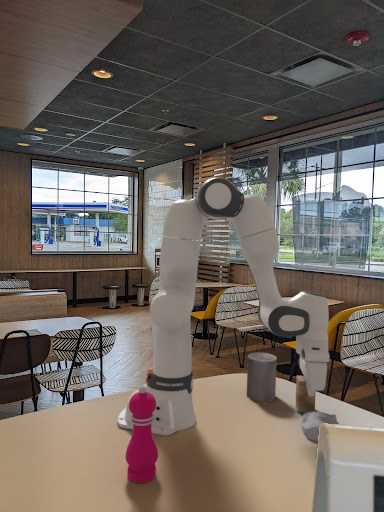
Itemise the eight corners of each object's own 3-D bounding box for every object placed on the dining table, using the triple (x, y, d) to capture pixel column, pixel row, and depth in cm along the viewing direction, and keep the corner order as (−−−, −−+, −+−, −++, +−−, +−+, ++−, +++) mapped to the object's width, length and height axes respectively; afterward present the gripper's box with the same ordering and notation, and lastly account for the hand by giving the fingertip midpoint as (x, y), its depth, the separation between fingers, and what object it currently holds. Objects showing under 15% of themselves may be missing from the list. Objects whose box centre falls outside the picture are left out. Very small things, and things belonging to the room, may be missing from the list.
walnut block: (298, 413, 118) (298, 381, 118) (295, 406, 123) (296, 375, 123) (314, 414, 118) (315, 382, 117) (311, 407, 123) (312, 376, 122)
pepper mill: (129, 488, 81) (130, 394, 80) (121, 469, 88) (122, 382, 87) (162, 480, 84) (163, 389, 83) (152, 462, 91) (153, 378, 90)
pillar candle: (243, 391, 135) (244, 348, 135) (270, 390, 137) (271, 348, 136) (250, 402, 126) (251, 357, 125) (279, 401, 127) (280, 356, 126)
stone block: (305, 447, 102) (345, 444, 100) (302, 429, 102) (341, 425, 101) (301, 428, 114) (336, 424, 112) (298, 411, 114) (333, 408, 112)
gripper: (295, 337, 123) (294, 380, 123) (306, 356, 102) (305, 408, 103) (315, 338, 122) (314, 382, 122) (331, 358, 102) (329, 409, 102)
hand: (310, 394), depth 113 cm, fingers closed
